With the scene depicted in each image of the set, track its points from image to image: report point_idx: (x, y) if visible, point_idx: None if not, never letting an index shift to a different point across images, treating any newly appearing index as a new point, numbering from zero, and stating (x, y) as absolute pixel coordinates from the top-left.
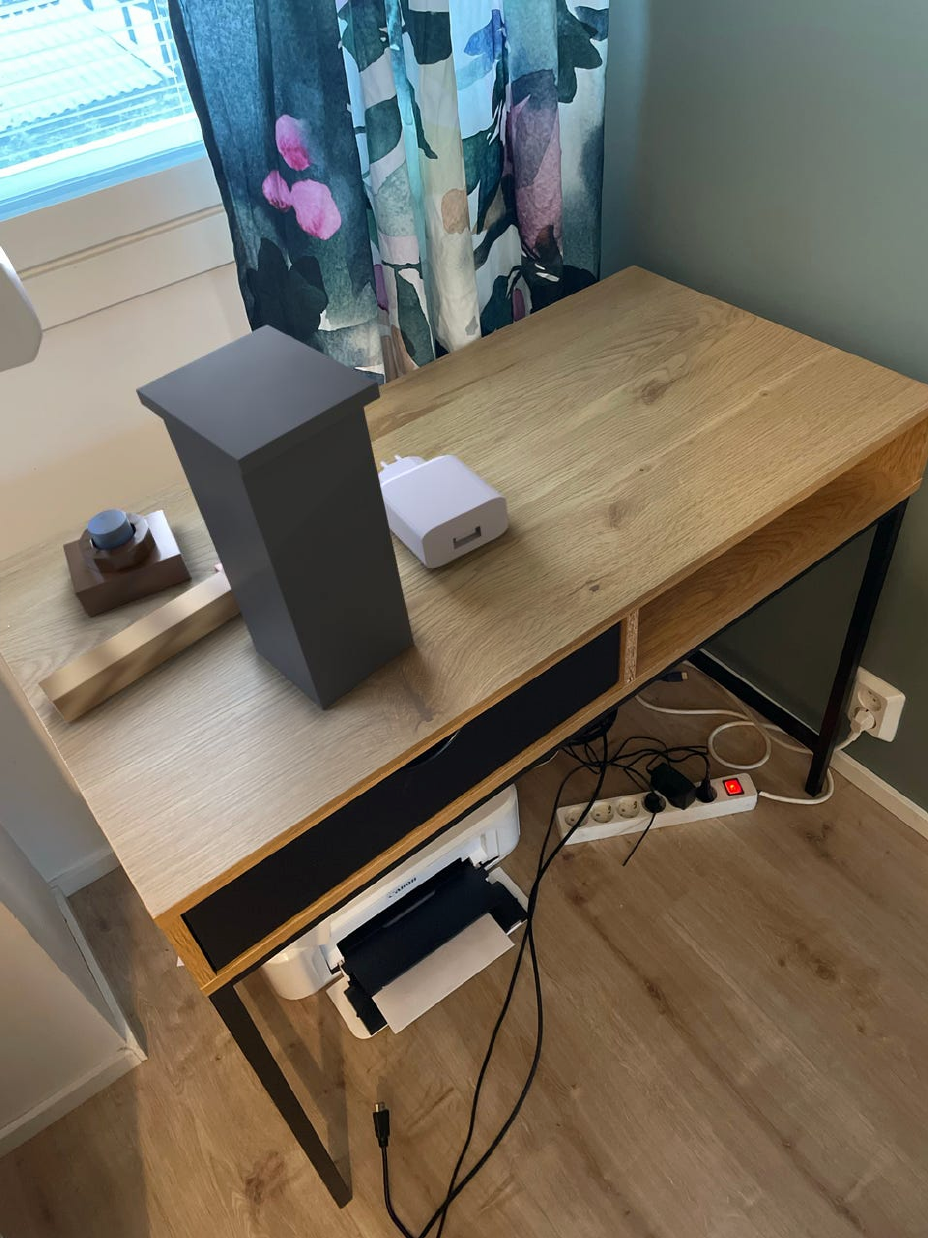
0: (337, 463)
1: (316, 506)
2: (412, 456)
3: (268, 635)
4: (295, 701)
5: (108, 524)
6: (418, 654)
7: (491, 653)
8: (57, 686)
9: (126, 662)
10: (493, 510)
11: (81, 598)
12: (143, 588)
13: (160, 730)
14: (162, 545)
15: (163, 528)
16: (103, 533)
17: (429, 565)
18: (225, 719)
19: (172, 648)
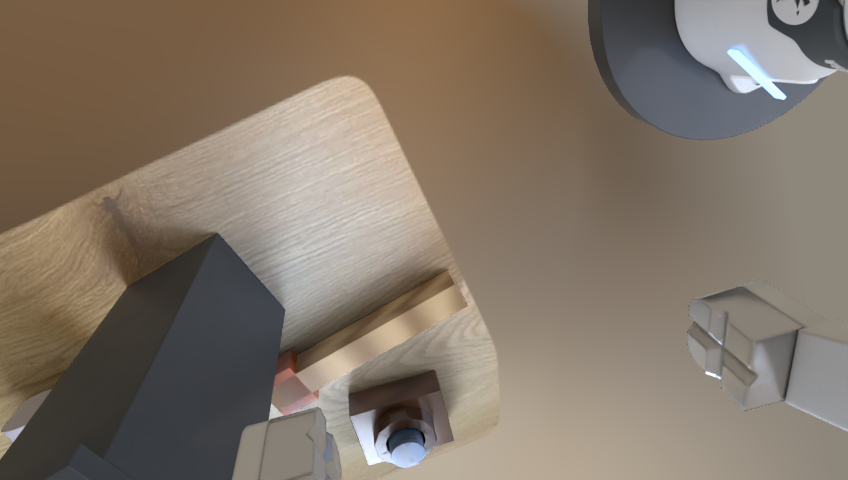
0: (23, 464)
1: (81, 410)
2: None
3: (249, 307)
4: (245, 248)
5: (406, 451)
6: (121, 274)
7: (40, 260)
8: (451, 298)
9: (394, 313)
10: (19, 418)
11: (436, 385)
12: (387, 389)
13: (369, 245)
14: (366, 427)
15: (366, 445)
16: (410, 442)
17: None
18: (311, 243)
19: (359, 324)
